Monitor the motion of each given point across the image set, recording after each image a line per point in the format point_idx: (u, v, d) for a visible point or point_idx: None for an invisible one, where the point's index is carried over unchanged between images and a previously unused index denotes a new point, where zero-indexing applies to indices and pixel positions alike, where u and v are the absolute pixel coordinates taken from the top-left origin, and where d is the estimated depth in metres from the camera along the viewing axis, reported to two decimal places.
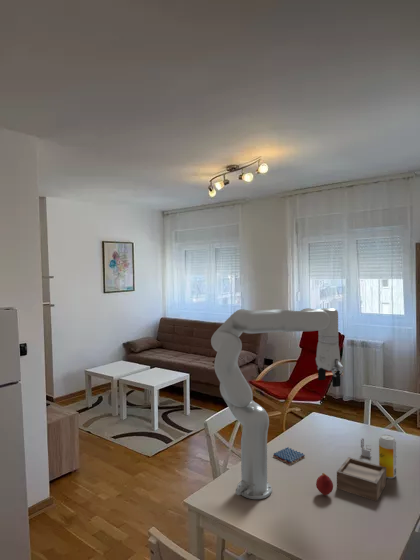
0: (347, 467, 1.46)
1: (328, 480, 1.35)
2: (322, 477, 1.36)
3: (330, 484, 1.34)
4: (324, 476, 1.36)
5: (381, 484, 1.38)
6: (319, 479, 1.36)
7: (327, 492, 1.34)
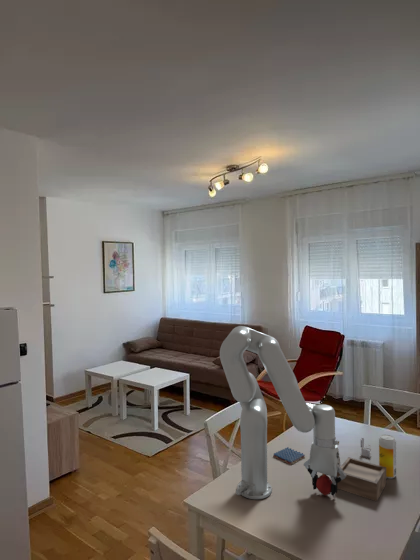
0: (347, 467, 1.46)
1: (328, 480, 1.35)
2: (322, 477, 1.36)
3: (330, 484, 1.34)
4: (324, 476, 1.36)
5: (381, 484, 1.38)
6: (319, 479, 1.36)
7: (327, 492, 1.34)
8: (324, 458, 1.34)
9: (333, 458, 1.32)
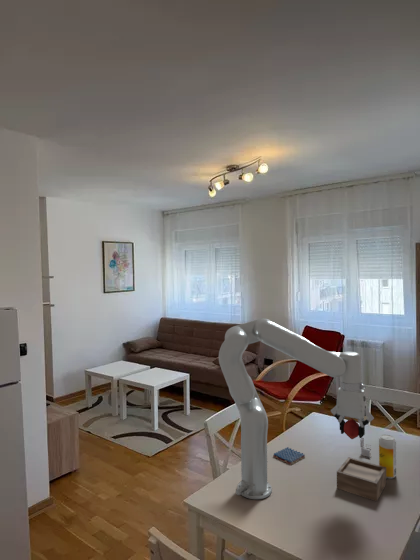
0: (347, 467, 1.46)
1: (355, 423, 1.39)
2: (349, 421, 1.40)
3: (357, 427, 1.38)
4: (351, 420, 1.40)
5: (381, 484, 1.38)
6: (346, 423, 1.40)
7: (355, 435, 1.38)
8: (351, 402, 1.38)
9: (360, 401, 1.36)
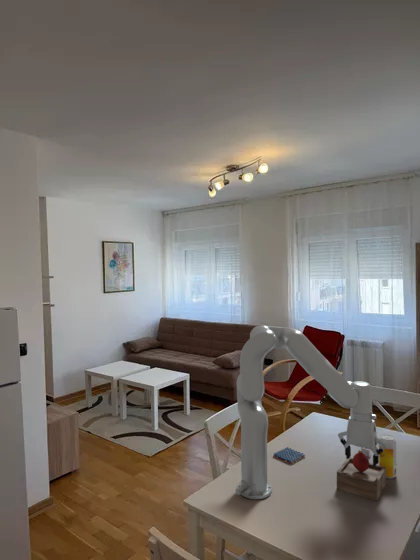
0: (347, 467, 1.46)
1: (364, 457, 1.41)
2: (358, 454, 1.42)
3: (366, 460, 1.40)
4: (360, 453, 1.42)
5: (381, 484, 1.38)
6: (355, 456, 1.42)
7: (364, 468, 1.40)
8: (361, 432, 1.40)
9: (370, 431, 1.38)
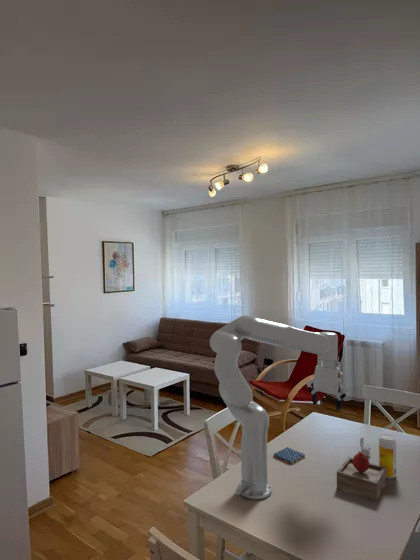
0: (347, 467, 1.46)
1: (364, 458, 1.41)
2: (358, 455, 1.42)
3: (367, 461, 1.40)
4: (360, 454, 1.41)
5: (381, 484, 1.38)
6: (356, 457, 1.42)
7: (364, 469, 1.40)
8: (326, 378, 1.49)
9: (334, 377, 1.47)
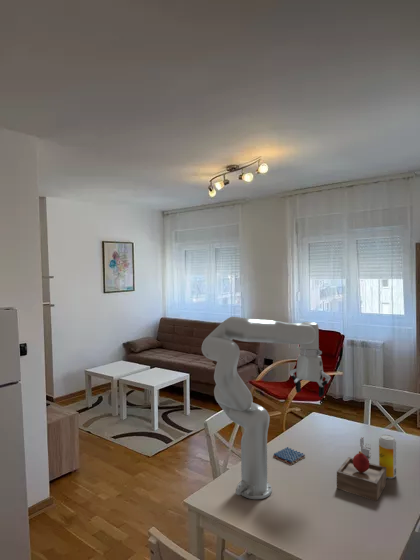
0: (347, 467, 1.46)
1: (365, 458, 1.40)
2: (358, 455, 1.42)
3: (367, 462, 1.40)
4: (361, 454, 1.41)
5: (381, 484, 1.38)
6: (356, 457, 1.42)
7: (364, 469, 1.39)
8: (309, 366, 1.54)
9: (316, 365, 1.52)
